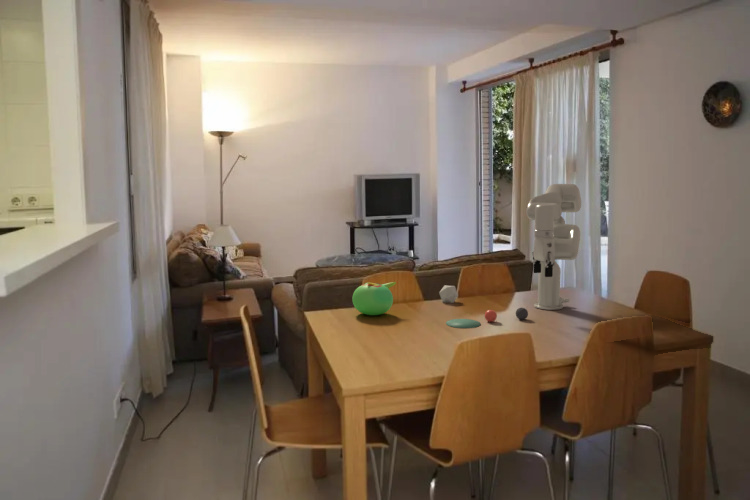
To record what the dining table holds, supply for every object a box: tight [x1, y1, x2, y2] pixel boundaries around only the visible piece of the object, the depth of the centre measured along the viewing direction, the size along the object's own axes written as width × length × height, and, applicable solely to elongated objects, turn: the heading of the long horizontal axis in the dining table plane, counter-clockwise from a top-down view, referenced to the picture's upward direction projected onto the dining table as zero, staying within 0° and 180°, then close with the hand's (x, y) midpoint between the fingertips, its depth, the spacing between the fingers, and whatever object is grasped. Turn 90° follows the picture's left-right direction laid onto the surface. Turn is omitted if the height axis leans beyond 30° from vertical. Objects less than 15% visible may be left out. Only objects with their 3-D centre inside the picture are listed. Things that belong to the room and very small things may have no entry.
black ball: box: [515, 307, 529, 321], centre depth 237 cm, size 5×5×5 cm
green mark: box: [445, 318, 482, 329], centre depth 232 cm, size 14×14×1 cm
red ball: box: [484, 309, 498, 323], centre depth 234 cm, size 5×5×5 cm
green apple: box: [351, 281, 397, 316], centre depth 248 cm, size 18×17×15 cm
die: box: [438, 284, 459, 304], centre depth 271 cm, size 8×9×10 cm
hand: (542, 274), depth 238 cm, fingers open, 9 cm apart
